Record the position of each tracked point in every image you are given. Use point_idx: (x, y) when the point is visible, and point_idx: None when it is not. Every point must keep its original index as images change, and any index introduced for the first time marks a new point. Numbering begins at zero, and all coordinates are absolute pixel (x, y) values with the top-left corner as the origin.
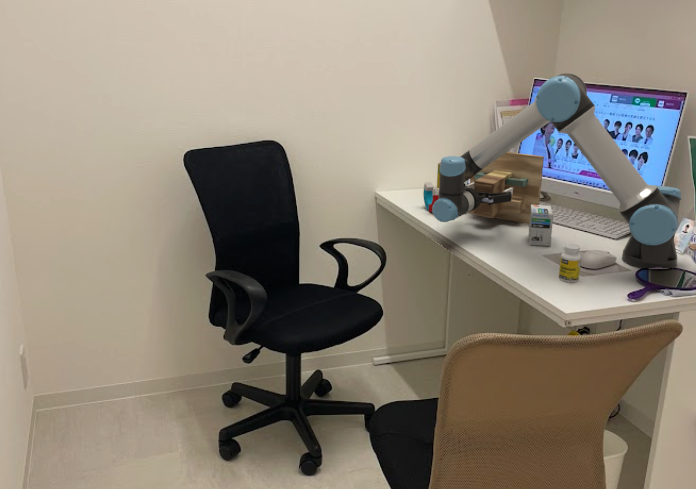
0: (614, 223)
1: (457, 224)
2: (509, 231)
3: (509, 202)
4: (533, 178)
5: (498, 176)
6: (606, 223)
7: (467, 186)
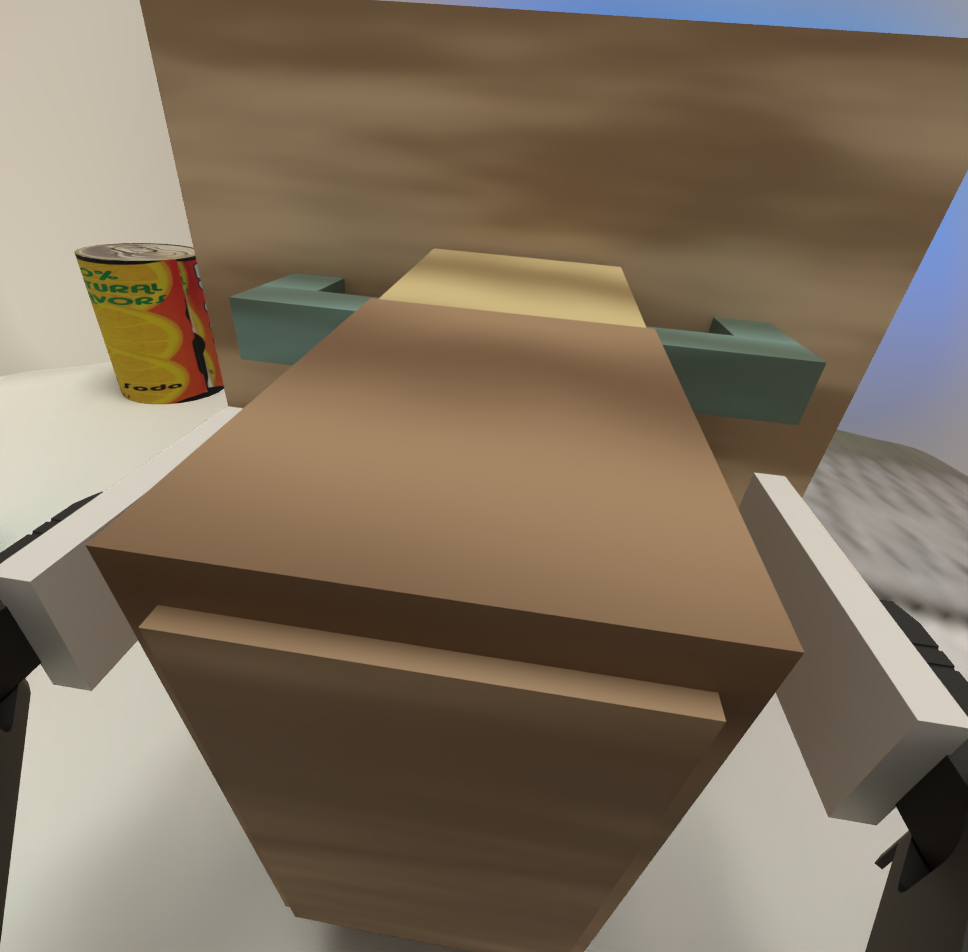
0: (927, 492)
1: (121, 935)
2: (709, 908)
3: None
4: (826, 318)
5: (557, 320)
6: (911, 500)
7: (31, 593)
